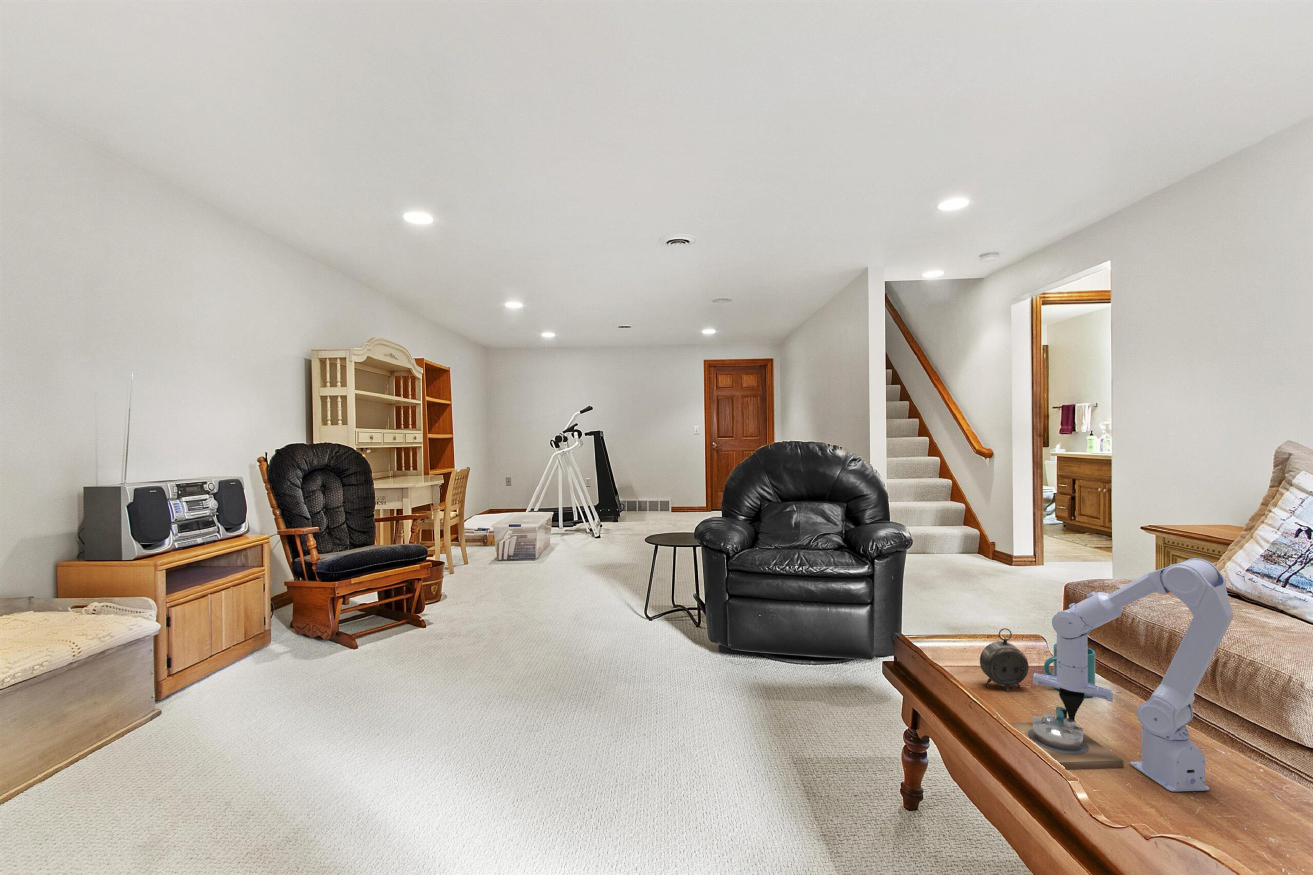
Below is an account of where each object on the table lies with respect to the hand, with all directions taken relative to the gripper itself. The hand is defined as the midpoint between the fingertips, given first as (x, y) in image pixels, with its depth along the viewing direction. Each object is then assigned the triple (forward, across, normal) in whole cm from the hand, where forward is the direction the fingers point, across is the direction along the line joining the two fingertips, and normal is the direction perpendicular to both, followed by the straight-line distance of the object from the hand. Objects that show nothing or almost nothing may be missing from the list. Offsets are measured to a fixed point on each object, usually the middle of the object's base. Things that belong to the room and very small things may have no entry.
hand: (1071, 723), depth 132 cm
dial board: (+3, +2, +6) cm, 8 cm away
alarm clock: (+4, +16, -20) cm, 26 cm away
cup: (+4, +3, -29) cm, 29 cm away
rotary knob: (+1, +2, +5) cm, 6 cm away
